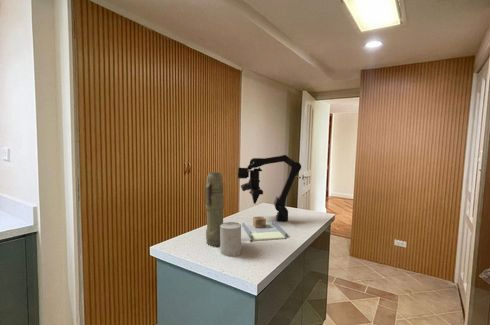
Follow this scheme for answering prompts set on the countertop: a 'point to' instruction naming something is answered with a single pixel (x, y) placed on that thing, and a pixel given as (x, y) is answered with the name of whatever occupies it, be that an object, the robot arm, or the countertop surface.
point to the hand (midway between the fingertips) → (254, 203)
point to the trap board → (265, 232)
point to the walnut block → (259, 222)
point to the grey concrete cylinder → (230, 239)
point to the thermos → (214, 207)
